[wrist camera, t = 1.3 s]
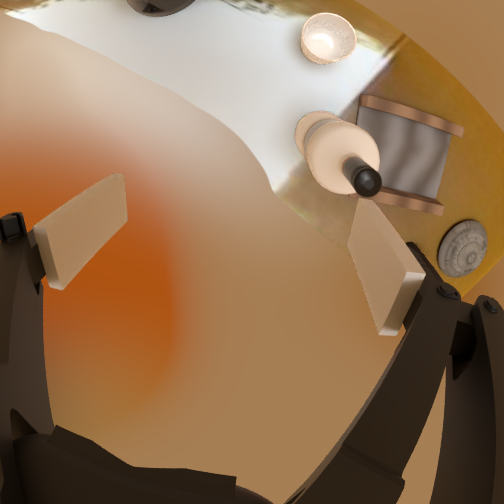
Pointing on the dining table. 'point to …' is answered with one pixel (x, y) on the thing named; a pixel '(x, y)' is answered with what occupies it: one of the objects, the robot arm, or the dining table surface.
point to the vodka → (339, 154)
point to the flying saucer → (463, 249)
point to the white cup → (327, 38)
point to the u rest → (407, 152)
